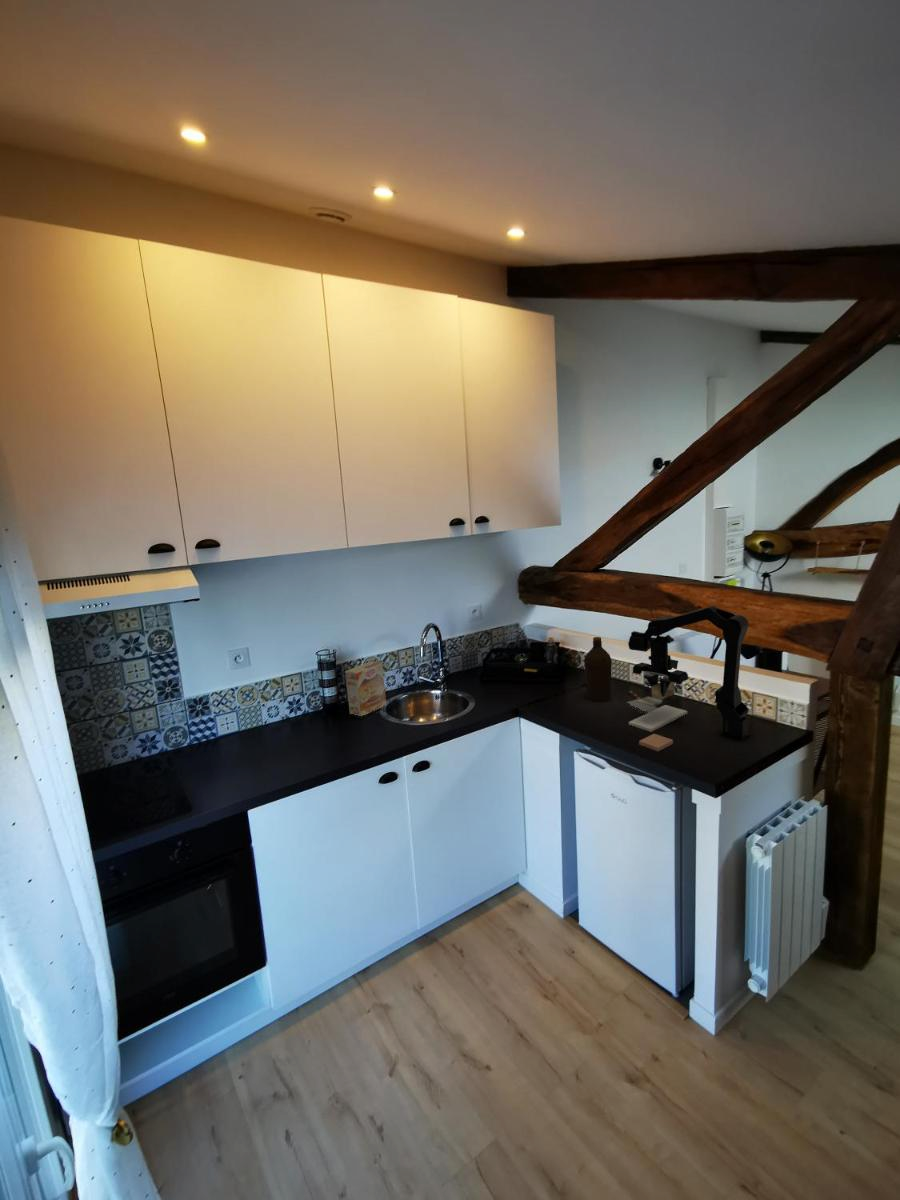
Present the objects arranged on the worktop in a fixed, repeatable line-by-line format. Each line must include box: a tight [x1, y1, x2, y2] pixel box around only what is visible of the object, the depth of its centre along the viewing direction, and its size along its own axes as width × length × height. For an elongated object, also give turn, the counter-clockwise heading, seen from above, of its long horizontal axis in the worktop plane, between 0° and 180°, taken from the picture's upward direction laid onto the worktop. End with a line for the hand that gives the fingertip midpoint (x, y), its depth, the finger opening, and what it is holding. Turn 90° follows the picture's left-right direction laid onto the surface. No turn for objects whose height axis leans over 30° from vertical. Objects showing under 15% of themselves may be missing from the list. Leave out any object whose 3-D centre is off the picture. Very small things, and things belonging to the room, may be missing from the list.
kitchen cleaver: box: [626, 690, 659, 713], centre depth 217 cm, size 24×1×10 cm
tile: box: [638, 733, 674, 752], centre depth 182 cm, size 7×2×8 cm
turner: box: [637, 682, 675, 707], centre depth 199 cm, size 16×6×5 cm, turn 126°
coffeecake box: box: [344, 661, 387, 716], centre depth 229 cm, size 15×7×20 cm, turn 143°
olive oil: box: [583, 636, 613, 703], centre depth 223 cm, size 11×11×25 cm
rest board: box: [628, 704, 688, 733], centre depth 201 cm, size 9×22×1 cm, turn 126°
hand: (659, 695), depth 200 cm, fingers closed on turner, 2 cm apart
